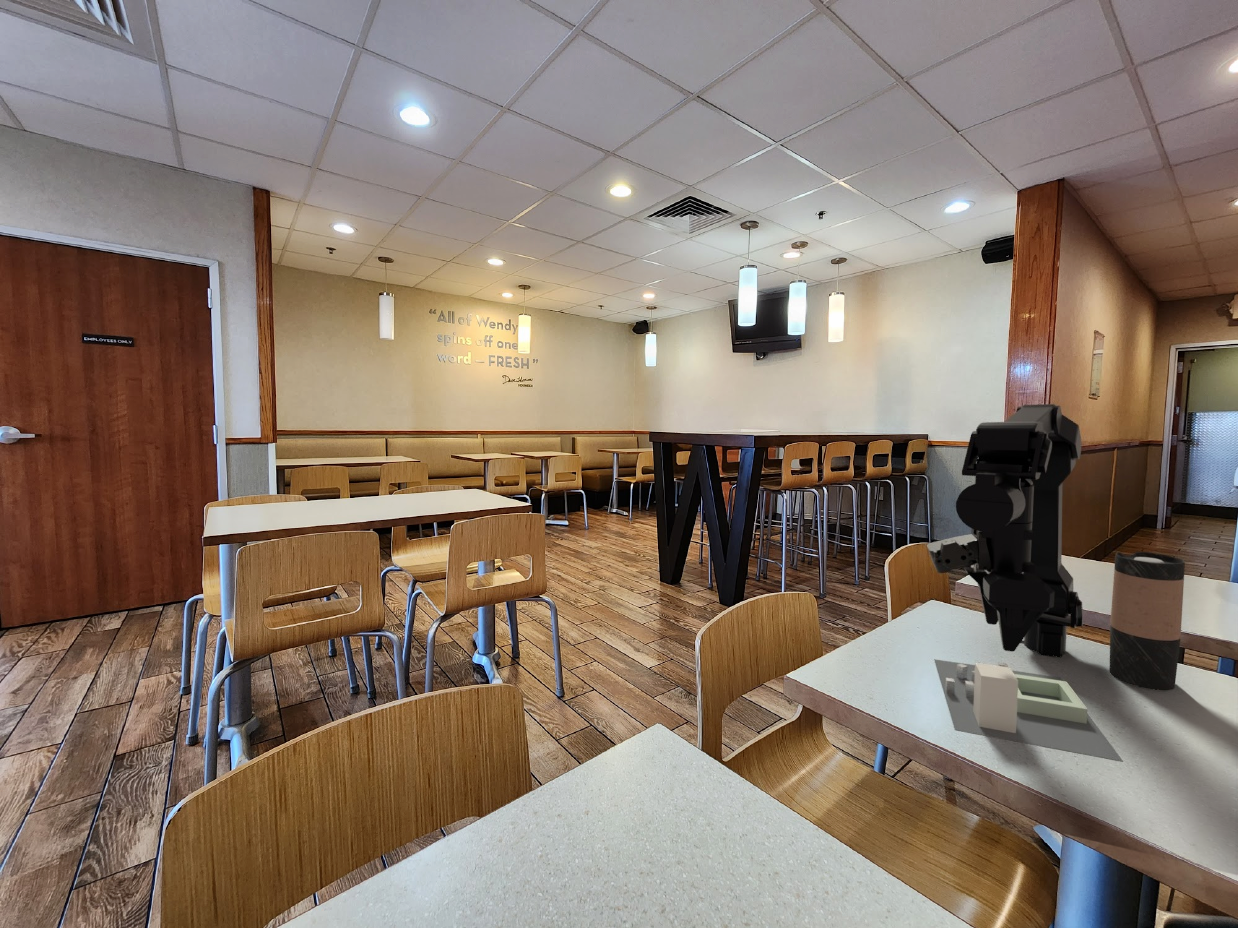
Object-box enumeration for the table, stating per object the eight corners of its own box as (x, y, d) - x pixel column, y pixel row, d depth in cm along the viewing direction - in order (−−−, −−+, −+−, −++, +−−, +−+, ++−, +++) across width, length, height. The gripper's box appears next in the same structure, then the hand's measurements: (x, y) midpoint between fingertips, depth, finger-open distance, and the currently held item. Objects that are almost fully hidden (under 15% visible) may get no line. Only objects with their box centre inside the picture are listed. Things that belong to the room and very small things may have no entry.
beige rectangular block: (973, 711, 74) (975, 662, 74) (1008, 717, 73) (1010, 667, 72) (979, 726, 71) (981, 675, 70) (1015, 733, 69) (1018, 681, 69)
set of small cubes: (937, 665, 88) (938, 653, 88) (1005, 675, 84) (1006, 663, 84) (946, 693, 79) (946, 680, 79) (1022, 706, 75) (1023, 692, 75)
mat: (933, 664, 90) (934, 659, 90) (1060, 683, 83) (1060, 677, 83) (954, 736, 70) (954, 729, 70) (1122, 769, 63) (1123, 761, 63)
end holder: (999, 684, 81) (1000, 671, 81) (1065, 694, 78) (1066, 681, 78) (1013, 711, 74) (1013, 697, 74) (1086, 723, 71) (1087, 709, 71)
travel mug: (1174, 703, 77) (1184, 567, 75) (1103, 684, 83) (1111, 557, 81) (1178, 685, 82) (1187, 557, 80) (1110, 668, 88) (1118, 548, 86)
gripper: (924, 505, 81) (921, 605, 82) (942, 529, 64) (938, 655, 65) (1013, 508, 77) (1009, 615, 78) (1059, 536, 60) (1052, 671, 61)
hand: (999, 636), depth 71 cm, fingers open, 9 cm apart
